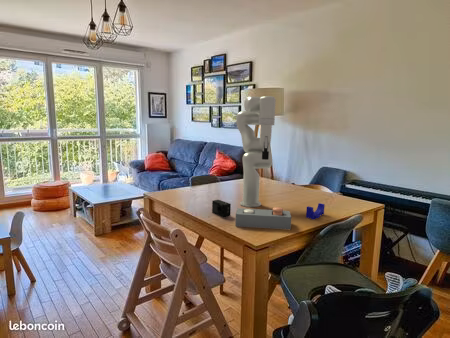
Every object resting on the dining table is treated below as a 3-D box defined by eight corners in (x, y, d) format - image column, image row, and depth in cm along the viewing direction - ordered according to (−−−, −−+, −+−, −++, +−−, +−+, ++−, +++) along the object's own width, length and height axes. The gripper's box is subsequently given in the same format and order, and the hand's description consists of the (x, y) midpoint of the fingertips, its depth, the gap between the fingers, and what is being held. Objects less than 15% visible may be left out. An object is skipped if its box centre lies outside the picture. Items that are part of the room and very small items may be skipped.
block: (236, 219, 155) (237, 208, 154) (288, 222, 152) (289, 210, 151) (235, 226, 145) (235, 214, 144) (290, 229, 142) (291, 217, 141)
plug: (243, 220, 152) (243, 209, 151) (253, 221, 151) (254, 209, 150) (243, 224, 147) (243, 212, 146) (253, 224, 146) (253, 212, 146)
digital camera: (210, 213, 164) (210, 200, 163) (217, 211, 168) (218, 199, 167) (222, 218, 156) (222, 205, 155) (230, 216, 160) (230, 203, 159)
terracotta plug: (271, 218, 150) (272, 206, 149) (282, 219, 150) (282, 207, 149) (272, 221, 145) (272, 209, 144) (282, 222, 145) (283, 210, 144)
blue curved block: (313, 219, 158) (314, 208, 157) (306, 217, 161) (306, 206, 160) (326, 215, 165) (327, 205, 164) (319, 213, 169) (319, 203, 168)
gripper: (259, 121, 156) (257, 157, 159) (259, 122, 141) (257, 161, 144) (273, 122, 155) (272, 157, 158) (275, 122, 141) (273, 161, 144)
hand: (265, 159), depth 151 cm, fingers closed
